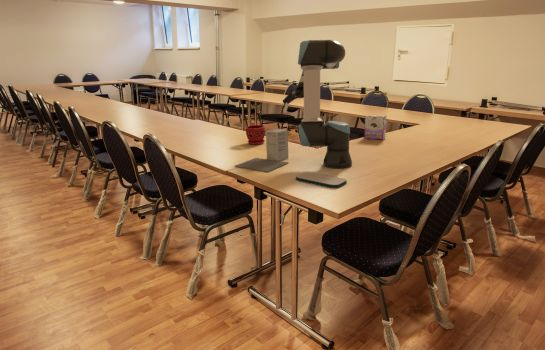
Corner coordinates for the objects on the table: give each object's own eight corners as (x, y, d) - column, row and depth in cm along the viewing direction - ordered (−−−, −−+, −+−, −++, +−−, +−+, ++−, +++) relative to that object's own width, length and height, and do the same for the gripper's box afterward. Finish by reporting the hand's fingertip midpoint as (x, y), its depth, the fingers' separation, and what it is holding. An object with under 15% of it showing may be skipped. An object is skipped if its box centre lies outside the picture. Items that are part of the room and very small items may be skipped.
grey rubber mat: (288, 163, 211) (288, 162, 211) (268, 172, 196) (268, 171, 195) (256, 158, 223) (256, 157, 223) (234, 166, 207) (234, 165, 207)
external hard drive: (293, 180, 183) (293, 176, 182) (306, 175, 191) (306, 171, 191) (336, 190, 168) (336, 185, 168) (349, 183, 177) (349, 179, 176)
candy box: (385, 138, 268) (387, 115, 264) (383, 140, 264) (384, 116, 259) (366, 137, 275) (367, 114, 271) (363, 138, 271) (364, 115, 266)
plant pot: (252, 141, 272) (251, 124, 269) (268, 142, 266) (268, 125, 263) (242, 144, 261) (241, 127, 258) (259, 146, 255) (258, 128, 252)
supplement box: (288, 158, 222) (288, 129, 217) (278, 161, 216) (277, 132, 211) (276, 155, 228) (276, 128, 224) (266, 159, 222) (265, 130, 217)
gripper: (324, 89, 238) (314, 117, 230) (288, 88, 249) (278, 115, 242) (321, 81, 232) (311, 110, 224) (284, 81, 243) (273, 108, 236)
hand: (294, 113), depth 233 cm, fingers open, 13 cm apart
